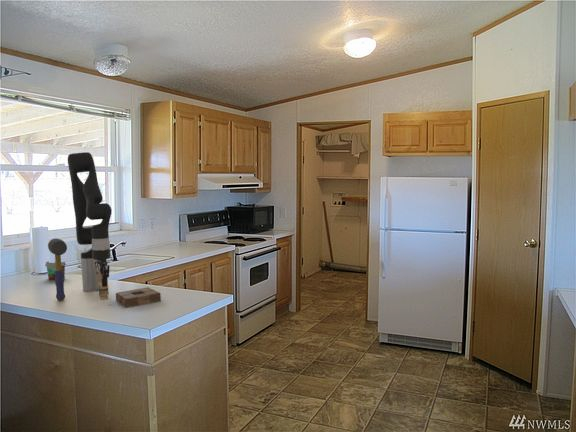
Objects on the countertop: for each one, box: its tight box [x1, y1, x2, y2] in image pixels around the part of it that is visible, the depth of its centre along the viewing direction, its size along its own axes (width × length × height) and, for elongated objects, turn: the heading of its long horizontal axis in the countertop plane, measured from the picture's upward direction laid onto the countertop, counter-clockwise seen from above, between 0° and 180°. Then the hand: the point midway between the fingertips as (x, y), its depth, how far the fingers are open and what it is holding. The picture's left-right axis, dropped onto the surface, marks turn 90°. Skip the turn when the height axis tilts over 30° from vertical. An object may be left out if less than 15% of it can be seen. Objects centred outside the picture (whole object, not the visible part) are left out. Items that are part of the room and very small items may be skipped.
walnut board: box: [115, 287, 162, 309], centre depth 223 cm, size 15×16×4 cm
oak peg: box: [97, 269, 109, 301], centre depth 212 cm, size 4×4×14 cm
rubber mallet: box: [47, 238, 68, 302], centre depth 226 cm, size 12×8×30 cm, turn 34°
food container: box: [45, 260, 67, 281], centre depth 275 cm, size 12×6×10 cm, turn 76°
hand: (103, 285), depth 212 cm, fingers closed on oak peg, 4 cm apart
